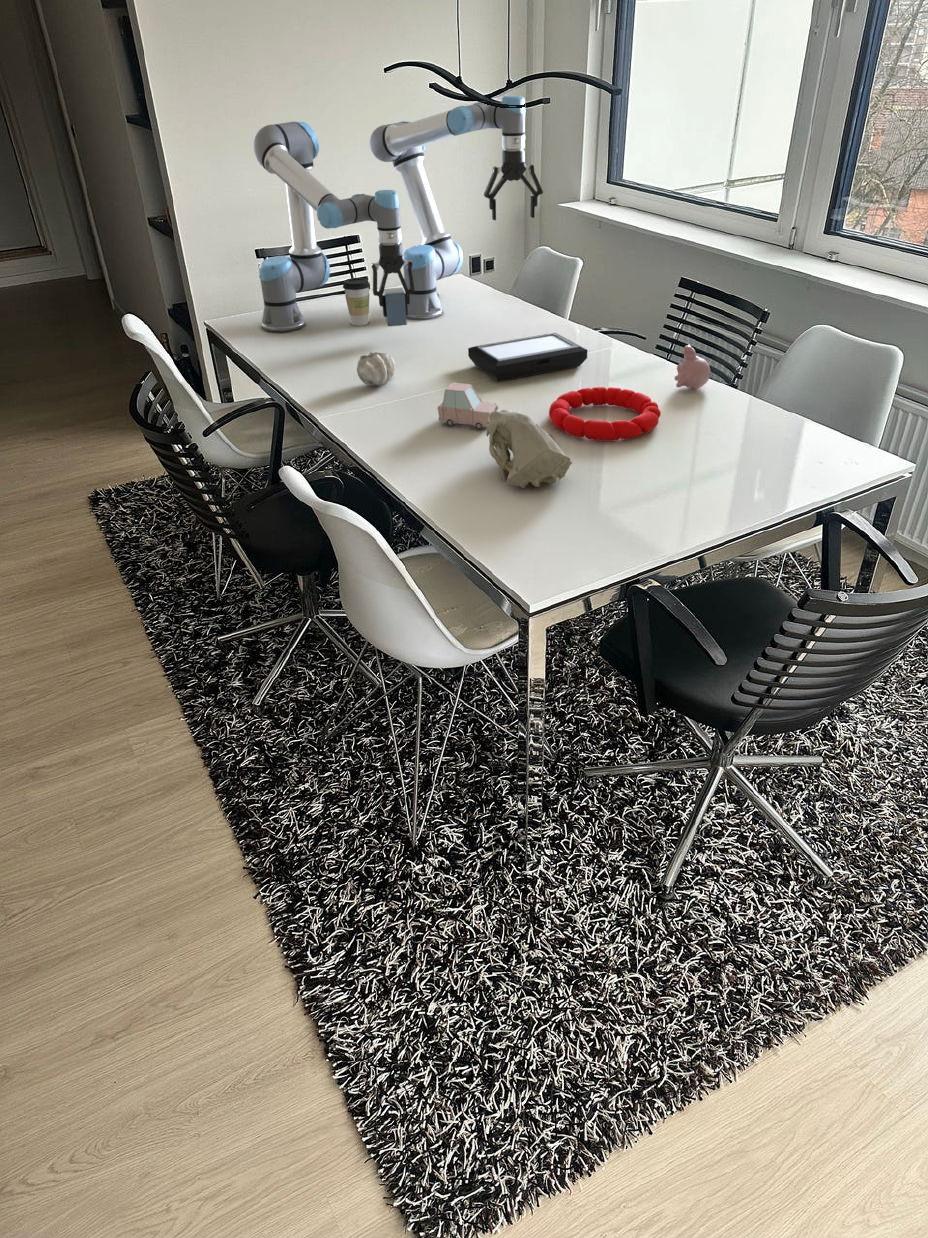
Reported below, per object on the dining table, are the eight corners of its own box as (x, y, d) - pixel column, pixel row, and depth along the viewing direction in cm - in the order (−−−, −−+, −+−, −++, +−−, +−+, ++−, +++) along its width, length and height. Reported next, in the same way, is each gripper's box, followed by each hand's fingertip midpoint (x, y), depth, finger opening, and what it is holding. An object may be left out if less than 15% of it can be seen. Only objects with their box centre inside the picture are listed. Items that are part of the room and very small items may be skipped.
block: (385, 321, 306) (383, 288, 300) (404, 319, 307) (402, 287, 301) (387, 326, 301) (385, 293, 295) (406, 324, 302) (404, 292, 296)
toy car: (488, 432, 240) (488, 396, 234) (436, 426, 244) (434, 390, 239) (499, 419, 247) (499, 384, 241) (448, 413, 252) (447, 379, 246)
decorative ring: (589, 435, 224) (684, 402, 234) (527, 398, 247) (617, 369, 256) (589, 461, 229) (683, 427, 238) (529, 422, 251) (617, 393, 260)
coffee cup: (372, 326, 323) (368, 283, 314) (345, 327, 323) (340, 284, 315) (374, 318, 331) (371, 276, 322) (348, 319, 331) (344, 277, 323)
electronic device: (495, 363, 267) (468, 345, 282) (495, 383, 270) (468, 364, 285) (587, 347, 277) (556, 330, 292) (586, 366, 281) (555, 349, 296)
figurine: (665, 387, 264) (669, 347, 257) (693, 380, 268) (698, 340, 261) (686, 396, 257) (690, 355, 250) (714, 388, 262) (720, 348, 255)
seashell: (349, 384, 274) (346, 352, 268) (393, 375, 279) (391, 343, 274) (362, 394, 266) (359, 361, 260) (407, 384, 272) (405, 352, 266)
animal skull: (496, 517, 219) (521, 479, 201) (463, 429, 225) (484, 384, 207) (557, 503, 225) (586, 465, 206) (523, 417, 231) (549, 373, 212)
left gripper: (361, 247, 285) (368, 320, 298) (421, 242, 288) (425, 315, 301) (359, 242, 291) (366, 314, 304) (418, 238, 294) (422, 309, 307)
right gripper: (478, 152, 291) (480, 222, 304) (552, 148, 295) (551, 217, 307) (474, 149, 298) (475, 218, 310) (546, 145, 301) (545, 213, 313)
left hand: (395, 314), depth 303 cm, fingers closed on block, 6 cm apart
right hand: (513, 218), depth 308 cm, fingers open, 13 cm apart
